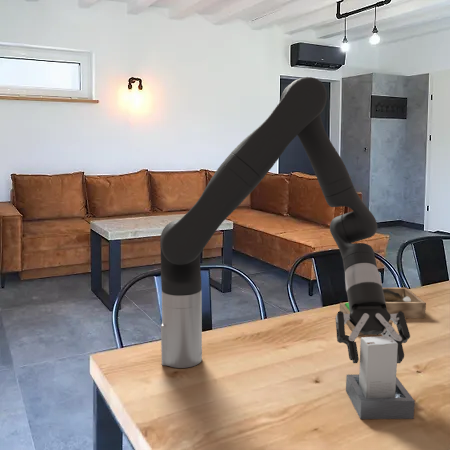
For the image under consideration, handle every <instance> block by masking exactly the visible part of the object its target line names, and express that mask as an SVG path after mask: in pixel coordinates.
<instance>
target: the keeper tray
mask: <svg viewBox="0 0 450 450" xmlns="http://www.w3.org/2000/svg"><path fill="white" fill-rule="evenodd" d="M345 392H346V394H347V396H348V398H349V400H350V402H351V403H352V406H353V407H354V410H355V412H356V413H357V415H358V418H359V419H360V420H390V419H391V420H402V419H403V420H408V419H410V420H412V419H414V416H415V403H416V400H415V399H414V398H413V396H412V395H411V394H410V392H409V391H408V390H407V388H406V387H405V386H404V384H403V383H402V382H401V381H400V380H399V378H398V377H397V376H396V390H395V398H366V397H365V396H364V394H363V392H362V390H361V389H360V387H359V374H358V373H357V374H356V373H355V374H346V375H345Z"/></svg>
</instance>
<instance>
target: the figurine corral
mask: <svg viewBox="0 0 450 450" xmlns="http://www.w3.org/2000/svg"><path fill="white" fill-rule="evenodd" d="M383 289H384V290H385V289H389V290H390V291H393V292H395V293H399V294H400V296H401V299H403V293H404V295H405V296H408V297H410V299H411V302H390V301H385V302H386V308H387V311H388V312H389V313H390V314H397V313H398V312H399V311H402V312H403V313H404V316H405V319H407V318H409V319H413V318H416V319H417V318H419V319H420V318H422V319H424V318H425V319H426V311H427V310H426V309H427V302H426V301H424V300H423V299H421V298H420V297H419V296H417V294H415V293H413V292H412V291H411V290H410V289H408V287H383Z"/></svg>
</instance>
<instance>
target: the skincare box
mask: <svg viewBox="0 0 450 450" xmlns="http://www.w3.org/2000/svg"><path fill="white" fill-rule="evenodd" d="M359 343H360V345H359V347H360V348H359V387H360V389H361V390H362V392H363V394H364V396H365V397H366V398H395V390H396V377H397V367H398V363H397V349H398V343H397V342H396V341H394V340H393V339H392V338H391V337H389V336H383V335H378V336H365V337H363V336H362V337H360V342H359Z"/></svg>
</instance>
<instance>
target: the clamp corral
mask: <svg viewBox="0 0 450 450" xmlns="http://www.w3.org/2000/svg"><path fill="white" fill-rule="evenodd" d="M345 303H346V302H339V311H342V312H343V314H350V311H349V310H348V308H347V307H346V306H345ZM388 323H389V324H390V325H391V326H392V327H393V321H392V320H389V322H388ZM345 325H347V326H348V327H347V328H349V329H350V331H351V332H352V331H353V330H354V328H355V326H354V325H353V324H352V323H351V322H350V321H349V320H347V322H346V324H345ZM385 330H386V329H385ZM386 331H387V330H386ZM358 336H365V335H364V334H362V333H361V332H360V333H359V335H358ZM368 336H374V335H373V334H369V335H368ZM378 336H383V335H382V334H379V335H378Z"/></svg>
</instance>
